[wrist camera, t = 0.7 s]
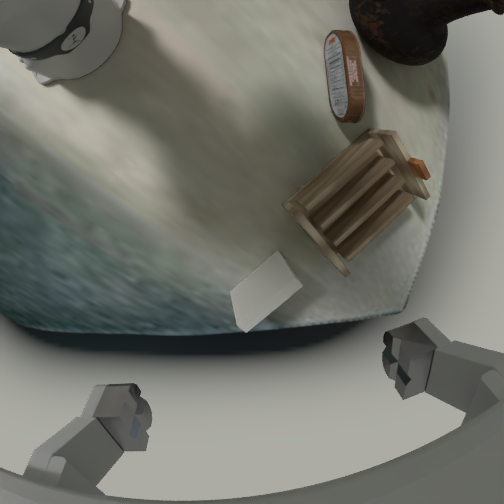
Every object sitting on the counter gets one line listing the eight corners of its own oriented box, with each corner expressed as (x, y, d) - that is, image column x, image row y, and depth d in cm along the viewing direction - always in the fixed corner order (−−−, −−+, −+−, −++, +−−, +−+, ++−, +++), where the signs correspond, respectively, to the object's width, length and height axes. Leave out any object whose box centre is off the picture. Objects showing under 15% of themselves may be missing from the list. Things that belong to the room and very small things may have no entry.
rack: (282, 204, 47) (304, 225, 37) (368, 128, 45) (407, 132, 35) (326, 257, 53) (354, 286, 43) (402, 185, 50) (441, 201, 40)
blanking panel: (229, 291, 52) (237, 325, 43) (277, 249, 51) (295, 277, 41) (237, 298, 53) (246, 332, 44) (284, 257, 51) (303, 285, 42)
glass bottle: (342, -30, 32) (438, -97, 6) (421, 13, 36) (529, -12, 11) (327, 44, 38) (448, -11, 13) (411, 84, 42) (539, 84, 17)
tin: (344, 122, 44) (371, 123, 36) (327, 123, 43) (352, 123, 36) (335, 38, 38) (359, 24, 30) (317, 36, 37) (339, 21, 30)
